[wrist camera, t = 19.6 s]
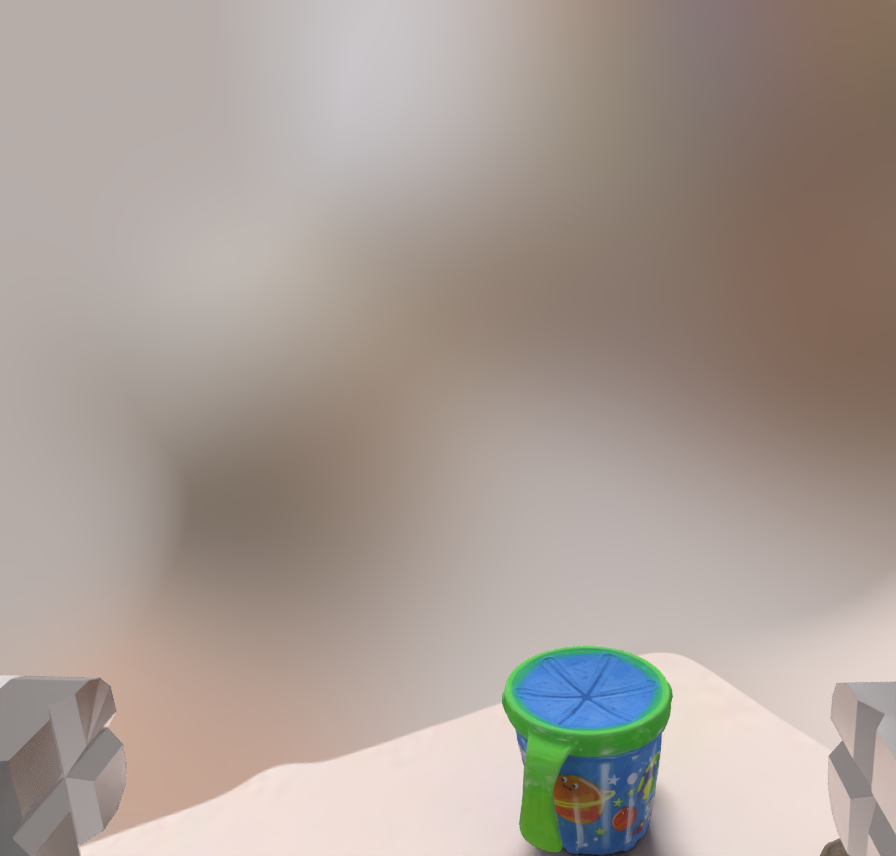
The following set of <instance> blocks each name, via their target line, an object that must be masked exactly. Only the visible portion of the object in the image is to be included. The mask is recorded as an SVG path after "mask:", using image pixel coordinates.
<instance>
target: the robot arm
mask: <svg viewBox="0 0 896 856" xmlns="http://www.w3.org/2000/svg"><path fill="white" fill-rule="evenodd" d="M115 713H116V707H115V703H114V699H113V695H112V691H111V687H110V685H108V684H107V683H106V682H104V681H103V680H102V679H101V678H84V677H46V676H45V677H44V676H23V677H22V676H18V675H5V676H0V856H81V854H80V845H81V844H82V843H84V842H85V841H87V840H89V839H90V838H92V837H93V836H95V835H97V834H98V833H100V832H102V831H103V830H104V829H105V828H106V826H107V825H108V823H109V822H110V820H111V819H112V817H113V816H114V814H115V813H116V812H117V809H118V807H119V804H120V800H121V797H122V794H123V791H124V788H125V785H126V764H127V763H126V757H125V752H124V746H123V744H122V743H121V742H120V740H119V739H118V738H117V737H116V736H115V735H114V734H113V733H112V732H111V731H110V730H109V728H108V726H109V724H110V722H111V720H112V718H113V717H114V715H115ZM831 720H832V722H833V724H834V725H835V727H836V729H837V731H838V733H839V735H840V736H841V738H842V740H843V741H842V742H841V743H840V744H839V745H838V746H837V747H836V749H834V751H833V752H832V753H831V754H830V755H829V759H828V789H829V796H830V803H831V810H832V815H833V818H834V821H835V825H836V828H837V831H838V834H839V836H840V839H841V841H842V843H843V845H844V848H845V850H846V852H847V854H848V855H849V856H896V682H859V683H837V684H836V686H835V690H834V693H833V696H832V708H831Z"/></svg>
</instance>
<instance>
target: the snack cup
mask: <svg viewBox="0 0 896 856" xmlns="http://www.w3.org/2000/svg"><path fill="white" fill-rule="evenodd" d="M672 697H673V696H672V689H671V686H670V684H669V683H668V682H667V680H666V679H665V677H664V676H663V674H662V673H661V672H660V671H659V670H658V669H657V668H656V667H655V666H653V665H652V664H651V663H649V662H648V661H646V660H644V659H642V658H640V657H638V656H636V655H634V654H631V653H627V652H624V651H621V650H617V649H612V648H605V647H595V646H573V647H565V648H559V649H554V650H551V651H547V652H544V653H541V654H538V655H536V656H533V657H531V658H529V659H527V660H526V661H524V662H523V663H521V664H520V665H519V666H518V667H516V668H515V669H514V671H513V672H512V673H511V674H510V676H509V678H508V679H507V682H506V686H505V690H504V692H503V695H502V704H503V707H504V710H505V712H506V714H507V716H508V718H509V720H510V722H511V723H512V725H513V726H514V728H515V729H516V733H517V740H518V744H519V748H520V752H521V755H522V761H523V765H524V778H523V797H522V806H521V814H520V823H519V825H520V830H521V833H522V835H523V837H524V838H525V840H526V841H528V842H529V843H530V844H532V845H533V846H535V847H536V848H538V849H542V850H545V851H547V852H552V853H557V852H560V851H561V850H562V848H563V847H564V848H565V849H566V850H567V851H568V852H569V853H572V854H580V853H583V854H594V855H604V854H612V853H615V852H618V851H628V850H630V849H631V848H633V847H634V846H635V844H636V842H637V841H638V840H639V839H640V838H641V837H643V836H644V834H645V833H646V831H647V828H648V825H649V821H650V816H651V812H652V808H653V802H654V796H655V789H656V780H657V774H658V767H659V760H660V751H661V738H662V732H663V731H664V729H665V727H666V725H667V722H668V719H669V717H670V710H671V701H672Z"/></svg>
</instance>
